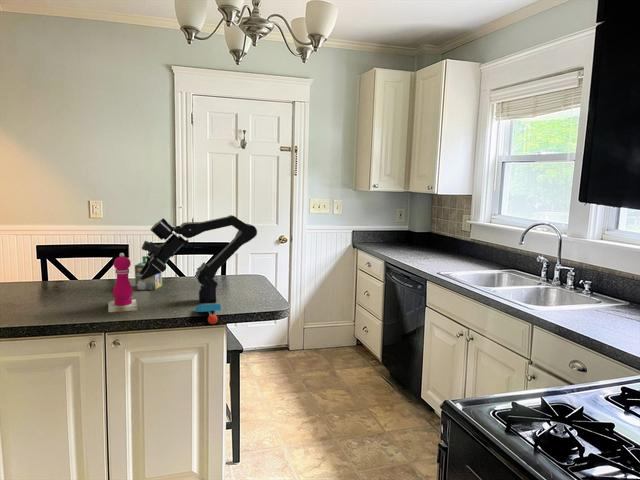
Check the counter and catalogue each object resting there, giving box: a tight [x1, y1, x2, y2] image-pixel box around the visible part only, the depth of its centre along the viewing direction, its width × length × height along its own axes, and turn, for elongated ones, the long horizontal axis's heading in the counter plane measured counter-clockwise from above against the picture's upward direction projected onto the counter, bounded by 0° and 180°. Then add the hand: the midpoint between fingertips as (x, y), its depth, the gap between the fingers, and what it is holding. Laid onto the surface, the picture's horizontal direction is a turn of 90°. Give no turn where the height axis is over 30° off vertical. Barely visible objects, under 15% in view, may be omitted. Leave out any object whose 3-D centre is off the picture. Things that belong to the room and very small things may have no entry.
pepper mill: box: [112, 252, 134, 306], centre depth 179 cm, size 7×7×20 cm
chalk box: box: [134, 255, 163, 291], centre depth 212 cm, size 9×9×15 cm
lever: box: [195, 303, 222, 325], centre depth 173 cm, size 7×7×18 cm
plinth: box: [107, 299, 138, 313], centre depth 181 cm, size 10×10×2 cm
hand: (140, 276), depth 182 cm, fingers open, 9 cm apart
